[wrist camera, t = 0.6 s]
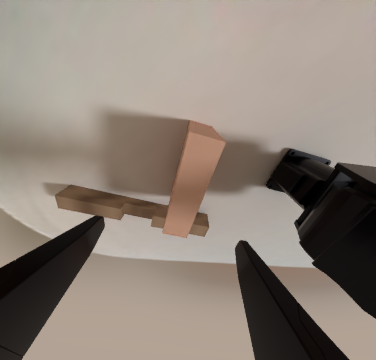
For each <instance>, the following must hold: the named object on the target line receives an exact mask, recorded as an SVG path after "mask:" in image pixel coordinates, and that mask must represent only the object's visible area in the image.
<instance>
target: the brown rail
mask: <svg viewBox="0 0 376 360" xmlns="http://www.w3.org/2000/svg"><path fill="white" fill-rule="evenodd" d="M55 198H56V201H57V205H58V208H61V209H66V210H71V211H76V212H81V213H86V214H91V215H99V216H103V217H107V218H112V219H117V220H121V219H122V217H123V215H124V214H128V215H133V216H138V217H143V218H148V219H152V223H151V226H152V227H158V228H164V224H165V219H166V215H167V210H168V206H166V205H161V204H157V203H152V202H148V201H143V200H138V199H134V198H129V197H125V196H120V195H115V194H111V193H106V192H102V191H97V190H92V189H88V188H83V187H79V186H74V185H70V186H68V187H67V188H65V189H64V190H62V191H61V192H59V193H58V194H56V195H55ZM208 229H209V222H208V216H207V214H203V213H198V212H197V214H196V217H195V219H194V222H193V224H192V226H191V229H190V231H189V234H193V235H198V236H203V237H205V235H206V233H207V231H208Z"/></svg>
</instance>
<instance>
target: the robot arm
mask: <svg viewBox="0 0 376 360" xmlns="http://www.w3.org/2000/svg"><path fill="white" fill-rule="evenodd" d="M292 152H293V153H292ZM291 153H292V154H291ZM330 163H331V161H330V160H328V159H325V158H321V157H318V156H315V155H311V154H308V153H305V152H301V151H298V150H295V149H290V150H289V151H288V152H287V154H286V155H285V157H284V158H283V160H282V161H281V163H280V164H279V166H278V167H277V169H276V170H275V172H274V173H273V175H272V176H271V178H270V179H269V181H268V182H267V184H266V187H267V188H269V189H272V190H276V191H280V192H284V193H286V194H287V195H288V196H290V197H291V198H292V199H293V200H294V201H295V202H296V203H297V204H298V205H299V206H300V207H301V208H302V209H303V210H304V211H303V213H302V214H301V216H300V217H299V218H298V220H296V221H295V222H294V224H295V226H296V229H297V231H298V235H299V238H300V241H299V243H300V245H301V246H302V248H303V249H304V250H305V252H306V253H307V254H308V255H309V256H310V257H311V258H312V259H313V260H314V261H313V262H312V264H313V266H315V267H316V268H318V269H319V270H321V271H322V272H324V273H325V274H327V275H328V276H329V277H330V278H331V279H332V280H334V281H335V282H336V283H337V284H338V285H339V286H340V287H341V288H342V289H343V290H344V291H345V292H346V293H347V294H348V295H349V296H350V297H351V298H352V299H353V300H354V301H355V302H356V303H357V304H358V305H359V306H360V307H361V308H362V309H363V310H364V311H365V312H367V313H368V314H370V315H371V316H373V317H374V318H375V319H376V167H372V166H363V165H355V164H347V163H337V164H336V165H335V167H334V168H335V169H334V168H332V167H330V166H329V165H330ZM269 185H270V186H269ZM104 227H105V223H104V217H103V216H99V215H96V216H94V217H92V218H90V219H88V220H86V221H84V222H83V223H81V224H79V225H77V226H75V227H74V228H72V229H70V230H68V231H66V232H65V233H63V234H61V235H59V236H57V237H56V238H54V239H52V240H50V241H48V242H47V243H45V244H43V245H41V246H39V247H37V248H36V249H34V250H32V251H30V252H28V253H27V254H25V255H23V256H21V257H19V258H18V259H16V260H14V261H12V262H10V263H9V264H7V265H5V266H3V267H1V268H0V360H22V358H23V356H24V355H25V353H26V352H27V351H28V349H29V347H30V346H31V344H32V343H33V341H34V340H35V338H36V337H37V335H38V334H39V332H40V331H41V329H42V327H43V326H44V325H45V323H46V321H47V320H48V318H49V317H50V315H51V314H52V312H53V311H54V309H55V308H56V306H57V305H58V303H59V301H60V300H61V298H62V297H63V295H64V294H65V292H66V291H67V289H68V288H69V286H70V285H71V283H72V282H73V280H74V278H75V277H76V275H77V274H78V272H79V271H80V269H81V268H82V266H83V265H84V263H85V262H86V260H87V259H88V257H89V256H90V254H91V252H92V250H93V249H94V247H95V245H96V243H97V241H98V239H99V237H100V235H101V233H102V231H103V229H104ZM235 255H236V264H237V273H238V279H239V284H240V289H241V293H242V298H243V303H244V308H245V313H246V317H247V322H248V327H249V332H250V337H251V342H252V347H253V352H254V356H255V360H349V359H348V358H347V356H346V355H345V354H344V353H343V352H342V351H341V350H340V349H339V348H338V347H337V346H336V345H335V344H334V342H333V341H332V340H331V339H330V338H329V337H328V336H327V335H326V334H325V333H324V332H323V331H322V329H321V328H320V327H319V326H318V325H317V324H316V323H315V322H314V320H313V319H312V318H311V317H310V316H309V315H308V314H307V312H306V311H305V310H304V309H303V308H302V306H301V305H300V304H299V303H298V302H297V301H296V299H295V298H294V297H293V296H292V295H291V293H290V292H289V291H288V290H287V289H286V287H285V286H284V285H283V284H282V283H281V282H280V280H279V279H278V278H277V277H276V276H275V274H274V273H273V272H272V271H271V270H270V268H269V267H268V266H267V265H266V264H265V262H264V261H263V260H262V259H261V258H260V257H259V255H258V254H257V253H256V252H255V251H254V249H253V248H252V247H251V246H250V245H249V243H248V242H247V241H243V240H240V241H239V242H238V244H237V246H236V248H235Z"/></svg>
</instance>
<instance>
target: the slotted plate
mask: <svg viewBox="0 0 376 360" xmlns="http://www.w3.org/2000/svg"><path fill="white" fill-rule="evenodd" d="M225 144H226V142H225V140H224V139H223V138H222V137H221V136H220V135H219V134H218V133H217V132H216V131H215V129H214V128H213V127H211V126H208V125H205V124H201V123H198V122H194V121H191V120H190V122H189V125H188V129H187V133H186V137H185V141H184V145H183V149H182V154H181V158H180V162H179V166H178V170H177V174H176V176H175V180H174V184H173V188H172V192H171V196H170V201H169V205H168V210H167V215H166V219H165V224H164V228H163V234H169V235H174V236H179V237H184V238H187V236H188V234H189V231H190V229H191V226H192V224H193V222H194V219H195V217H196V214H197V212H198V209H199V207H200V205H201V202H202V200H203V197H204V195H205V192H206V190H207V187H208V185H209V183H210V180H211V178H212V175H213V173H214V170H215V168H216V166H217V163H218V161H219V158H220V156H221V153H222V151H223V149H224V146H225Z"/></svg>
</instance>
